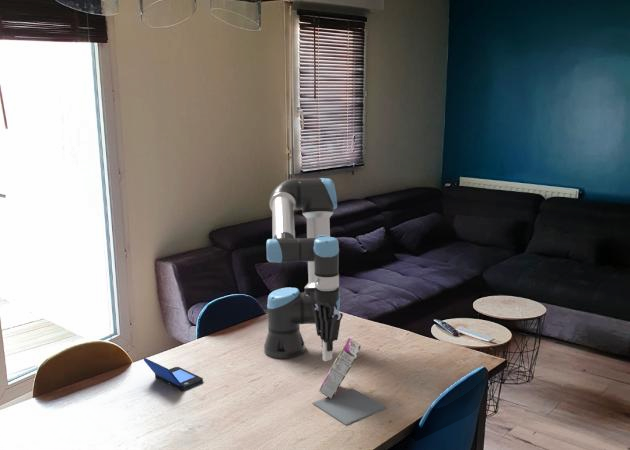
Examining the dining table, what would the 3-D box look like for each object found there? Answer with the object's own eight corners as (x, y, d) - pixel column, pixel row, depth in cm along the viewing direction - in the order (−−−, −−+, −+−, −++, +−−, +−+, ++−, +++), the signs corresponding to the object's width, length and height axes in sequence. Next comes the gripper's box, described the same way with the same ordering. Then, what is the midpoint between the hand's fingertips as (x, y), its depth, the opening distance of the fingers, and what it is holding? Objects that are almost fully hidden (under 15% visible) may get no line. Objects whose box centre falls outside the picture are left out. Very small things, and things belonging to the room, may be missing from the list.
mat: (312, 403, 188) (312, 402, 188) (352, 388, 197) (352, 387, 197) (345, 425, 175) (345, 424, 175) (386, 408, 185) (386, 407, 185)
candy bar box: (324, 377, 200) (348, 337, 196) (337, 385, 200) (362, 345, 196) (317, 391, 189) (343, 348, 186) (331, 399, 189) (357, 357, 185)
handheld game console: (204, 382, 203) (203, 356, 202) (171, 397, 194) (169, 370, 192) (177, 369, 214) (175, 344, 212) (143, 382, 204) (142, 356, 202)
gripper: (304, 285, 190) (305, 355, 195) (330, 295, 180) (330, 369, 184) (323, 280, 194) (324, 350, 199) (349, 290, 184) (349, 363, 189)
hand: (327, 359), depth 192 cm, fingers closed
